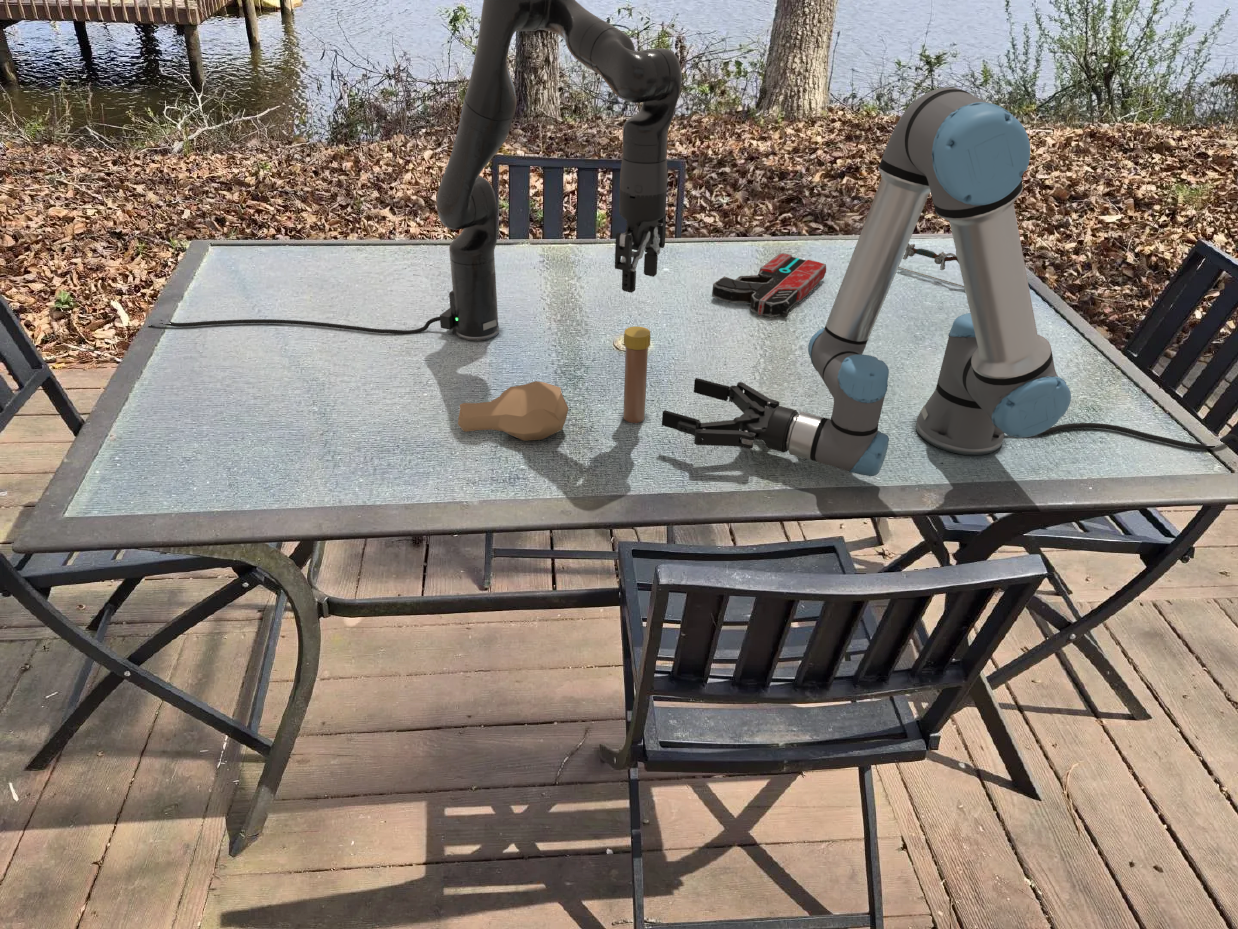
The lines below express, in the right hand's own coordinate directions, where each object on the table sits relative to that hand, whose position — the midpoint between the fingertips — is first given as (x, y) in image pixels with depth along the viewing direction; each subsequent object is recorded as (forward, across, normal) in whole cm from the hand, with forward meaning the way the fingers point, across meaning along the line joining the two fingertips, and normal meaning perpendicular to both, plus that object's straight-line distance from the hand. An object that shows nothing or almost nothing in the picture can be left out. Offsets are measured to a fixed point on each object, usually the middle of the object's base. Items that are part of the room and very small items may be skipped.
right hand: (679, 400), depth 157 cm
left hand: (+9, 0, +20) cm, 22 cm away
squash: (+26, -15, -6) cm, 30 cm away
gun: (+8, +72, -6) cm, 72 cm away
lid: (+9, 0, +11) cm, 14 cm away
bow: (-22, +103, -6) cm, 105 cm away
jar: (+9, 0, -6) cm, 11 cm away
